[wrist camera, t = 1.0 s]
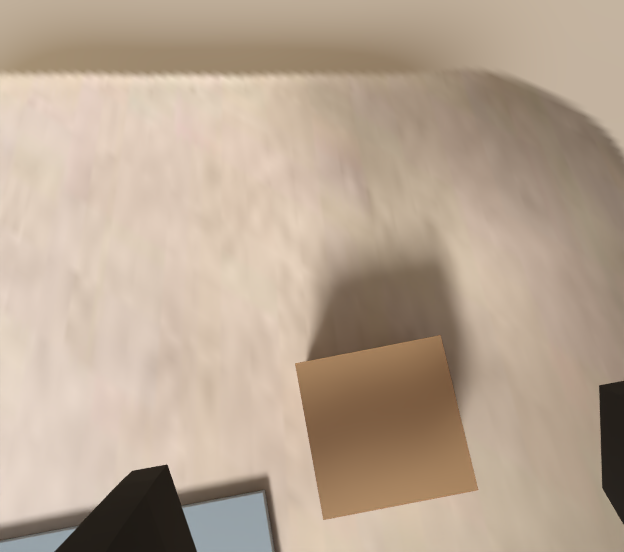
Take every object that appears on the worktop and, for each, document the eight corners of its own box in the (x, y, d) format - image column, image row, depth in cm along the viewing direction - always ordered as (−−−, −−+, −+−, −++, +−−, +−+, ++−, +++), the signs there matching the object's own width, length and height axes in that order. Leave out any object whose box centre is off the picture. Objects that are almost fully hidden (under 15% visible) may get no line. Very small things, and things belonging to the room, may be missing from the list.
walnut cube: (446, 467, 22) (478, 490, 17) (327, 490, 22) (323, 519, 17) (418, 346, 23) (440, 335, 18) (304, 368, 23) (295, 363, 18)
